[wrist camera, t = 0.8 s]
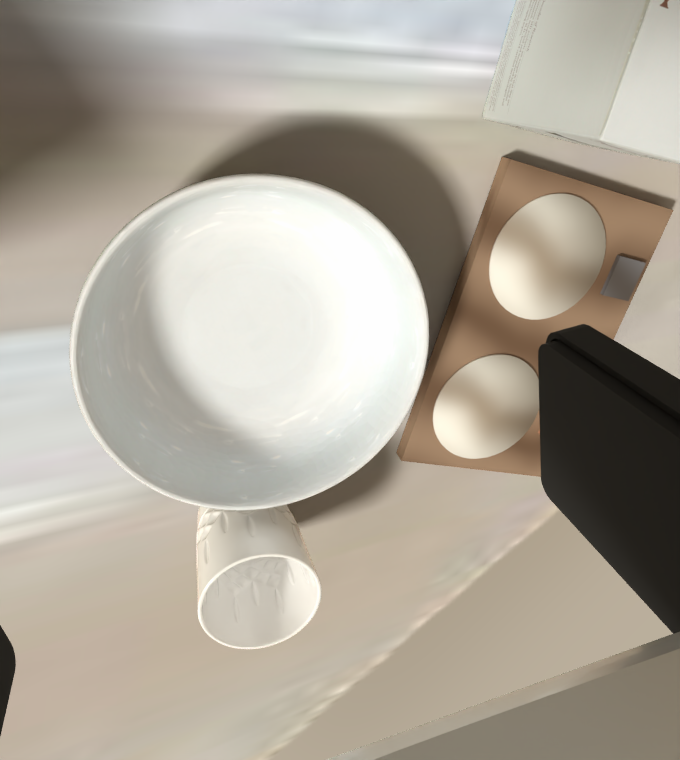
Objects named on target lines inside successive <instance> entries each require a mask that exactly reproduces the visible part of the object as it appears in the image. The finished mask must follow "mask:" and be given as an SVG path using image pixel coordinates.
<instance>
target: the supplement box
mask: <svg viewBox="0 0 680 760" xmlns="http://www.w3.org/2000/svg"><path fill="white" fill-rule="evenodd" d="M483 119H485V120H489V121H493V122H497V123H501V124H505V125H509V126H512V127H516V128H520V129H524V130H527V131H531V132H535V133H538V134H542V135H546V136H550V137H553V138H557V139H561V140H565V141H569V142H572V143H577V144H582V145H587V146H592V147H596V148H601V149H606V150H611V151H616V152H621V153H625V154H630V155H635V156H640V157H646V158H651V159H656V160H660V161H665V162H671V163H676V164H680V0H516V2H515V6H514V9H513V12H512V16H511V19H510V23H509V26H508V29H507V33H506V36H505V39H504V42H503V46H502V49H501V53H500V56H499V60H498V63H497V66H496V70H495V73H494V77H493V80H492V83H491V87H490V90H489V94H488V97H487V100H486V104H485V108H484V112H483Z"/></svg>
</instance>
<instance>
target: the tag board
mask: <svg viewBox="0 0 680 760" xmlns="http://www.w3.org/2000/svg"><path fill="white" fill-rule="evenodd" d="M672 212H673V210H671V209H668V208H665V207H662V206H658V205H655V204H652V203H649V202H646V201H642V200H639V199H636V198H633V197H630V196H627V195H623V194H620V193H617V192H614V191H611V190H607V189H604V188H601V187H598V186H595V185H592V184H588V183H585V182H582V181H579V180H576V179H572V178H569V177H566V176H563V175H560V174H556V173H553V172H550V171H547V170H544V169H541V168H537V167H534V166H531V165H528V164H525V163H521V162H518V161H515V160H512V159H508V158H505V157H502V158H501V161H500V164H499V167H498V169H497V172H496V175H495V178H494V181H493V183H492V186H491V189H490V192H489V195H488V197H487V200H486V203H485V206H484V209H483V211H482V214H481V217H480V220H479V223H478V225H477V228H476V231H475V234H474V237H473V239H472V242H471V245H470V248H469V251H468V253H467V256H466V259H465V262H464V265H463V267H462V270H461V273H460V276H459V279H458V281H457V284H456V287H455V290H454V293H453V295H452V298H451V301H450V304H449V307H448V309H447V312H446V315H445V318H444V321H443V323H442V326H441V329H440V332H439V335H438V337H437V340H436V343H435V346H434V349H433V351H432V354H431V357H430V360H429V363H428V365H427V368H426V371H425V374H424V377H423V379H422V382H421V385H420V388H419V391H418V393H417V396H416V399H415V402H414V405H413V407H412V410H411V413H410V416H409V419H408V421H407V424H406V427H405V430H404V433H403V435H402V438H401V441H400V444H399V447H398V449H397V452H396V453H397V454H398V456H399V457H400V459H401V461H409V462H417V463H426V464H435V465H443V466H452V467H461V468H470V469H478V470H487V471H496V472H505V473H513V474H522V475H531V476H539V477H541V461H540V418H539V375H538V350H539V347H540V346H541V345H542V344H545V343H546V339H547V337H548V335H549V334H550V333H552V332H556V331H559V330H563V329H566V328H570V327H574V326H577V325H581V324H586V325H589V326H591V327H592V328H594V329H596V330H597V331H599V332H601V333H603V334H604V335H606V336H608V337H609V338H611V339H614V337H615V335H616V333H617V330H618V328H619V326H620V324H621V322H622V320H623V318H624V315H625V313H626V311H627V309H628V307H629V305H630V302H631V300H632V298H633V296H634V294H635V292H636V290H637V287H638V285H639V283H640V281H641V279H642V277H643V274H644V272H645V270H646V268H647V266H648V264H649V262H650V259H651V257H652V255H653V253H654V251H655V249H656V246H657V244H658V242H659V240H660V238H661V236H662V234H663V231H664V229H665V227H666V225H667V223H668V221H669V218H670V216H671V214H672Z"/></svg>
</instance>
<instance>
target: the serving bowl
mask: <svg viewBox="0 0 680 760" xmlns="http://www.w3.org/2000/svg"><path fill="white" fill-rule="evenodd" d="M428 348H429V318H428V310H427V304H426V299H425V295H424V291H423V288H422V285H421V282H420V279H419V276H418V274H417V272H416V269H415V267H414V265H413V263H412V261H411V259H410V257H409V256H408V254H407V252H406V251H405V249H404V248H403V246H402V245H401V243H400V242H399V241H398V239H397V238H396V237H395V236H394V235H393V233H392V232H391V231H390V230H389V229H388V228H387V226H385V225H384V224H383V223H382V222H381V221H380V220H379V219H378V218H377V217H376V216H375V215H374V214H372V213H371V212H370V211H369V210H367V209H366V208H364V207H363V206H362V205H360V204H359V203H357V202H356V201H354V200H352V199H351V198H349V197H347V196H345V195H344V194H342V193H340V192H338V191H336V190H334V189H331V188H329V187H326V186H324V185H321V184H318V183H315V182H311V181H308V180H304V179H300V178H295V177H289V176H283V175H273V174H238V175H230V176H223V177H218V178H213V179H209V180H205V181H202V182H198V183H195V184H193V185H190V186H187V187H184V188H182V189H180V190H178V191H175V192H173V193H171V194H169V195H167V196H165V197H163V198H162V199H160V200H158V201H157V202H155V203H153V204H152V205H151V206H149V207H148V208H146V209H145V210H144V211H142V212H141V213H140V214H138V215H137V216H136V217H135V218H133V219H132V220H131V221H130V222H129V223H128V224H127V225H126V226H125V227H123V228H122V229H121V230H120V232H119V233H118V234H117V235H116V236H115V237H114V238H113V239H112V240H111V241H110V243H109V244H108V245H107V246H106V248H105V249H104V250H103V252H102V253H101V255H100V256H99V258H98V259H97V261H96V262H95V264H94V266H93V267H92V269H91V271H90V273H89V275H88V277H87V279H86V281H85V283H84V286H83V288H82V290H81V292H80V295H79V298H78V301H77V304H76V308H75V311H74V316H73V321H72V326H71V332H70V347H69V358H70V370H71V377H72V383H73V387H74V391H75V395H76V399H77V401H78V404H79V407H80V410H81V412H82V414H83V416H84V419H85V420H86V422H87V424H88V426H89V428H90V430H91V431H92V433H93V435H94V436H95V438H96V439H97V441H98V442H99V443H100V445H101V446H102V447H103V449H104V450H105V451H106V452H107V453H108V454H109V455H110V457H111V458H112V459H113V460H114V461H115V462H116V463H117V464H118V465H119V466H120V467H122V468H123V469H124V470H125V471H126V472H128V473H129V474H130V475H131V476H133V477H134V478H135V479H137V480H138V481H140V482H141V483H143V484H145V485H146V486H148V487H150V488H152V489H153V490H155V491H157V492H159V493H161V494H164V495H166V496H168V497H171V498H173V499H176V500H179V501H182V502H185V503H189V504H193V505H197V506H201V507H206V508H213V509H221V510H256V509H265V508H271V507H276V506H281V505H286V504H290V503H293V502H297V501H300V500H303V499H306V498H308V497H311V496H314V495H316V494H318V493H320V492H323V491H325V490H327V489H329V488H331V487H333V486H334V485H336V484H338V483H340V482H341V481H343V480H345V479H346V478H348V477H349V476H351V475H352V474H354V473H355V472H356V471H358V470H359V469H360V468H362V467H363V466H364V465H365V464H366V463H367V462H369V461H370V460H371V459H372V458H373V457H374V456H375V455H376V454H377V453H378V452H379V451H380V450H381V449H382V448H383V447H384V446H385V445H386V443H387V442H388V441H389V440H390V439H391V437H392V436H393V435H394V433H395V432H396V431H397V429H398V428H399V426H400V425H401V423H402V422H403V420H404V419H405V417H406V415H407V414H408V412H409V410H410V408H411V406H412V404H413V402H414V400H415V397H416V395H417V393H418V390H419V387H420V384H421V382H422V378H423V375H424V371H425V367H426V361H427V356H428Z"/></svg>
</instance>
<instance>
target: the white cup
mask: <svg viewBox="0 0 680 760" xmlns="http://www.w3.org/2000/svg"><path fill="white" fill-rule="evenodd" d="M197 527H198V531H197V550H196V563H197V599H198V617H199V621H200V624H201V626H202V628H203V629H204V631H205V632H206V633H207V634H208V635H209V636H210V637H211V638H212V639H214V640H215V641H217V642H219V643H221V644H223V645H226V646H229V647H233V648H239V649H257V648H264V647H268V646H272V645H275V644H278V643H280V642H282V641H285V640H287V639H288V638H290V637H292V636H293V635H295V634H296V633H298V632H299V631H300V630H302V629H303V628H304V627H305V626H306V625H307V624H308V623H309V622H310V620H311V619H312V618H313V616H314V615H315V613H316V611H317V609H318V607H319V604H320V601H321V593H322V590H321V583H320V580H319V578H318V575H317V573H316V570H315V568H314V565H313V563H312V560H311V558H310V555H309V552H308V550H307V547H306V545H305V542H304V540H303V537H302V535H301V532H300V530H299V527H298V525H297V523H296V521H295V519H294V516H293V514H292V513H291V512H290V510H289V508H288V506H287V504H286V505H281V506H276V507H271V508H265V509H256V510H221V509H213V508H206V507H201V506H199V510H198V516H197Z"/></svg>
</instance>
